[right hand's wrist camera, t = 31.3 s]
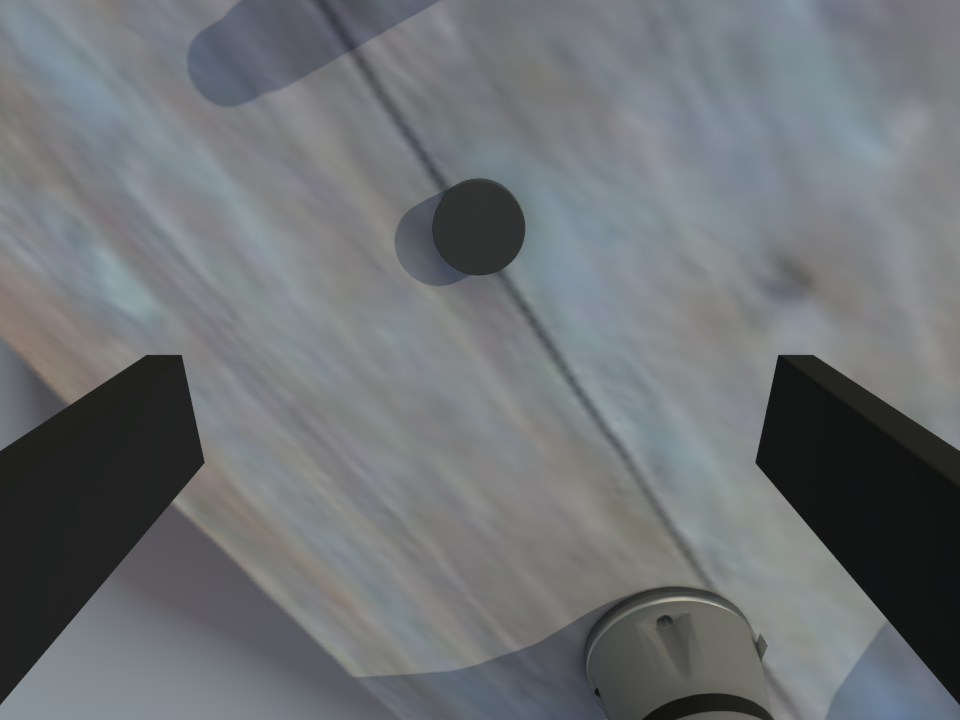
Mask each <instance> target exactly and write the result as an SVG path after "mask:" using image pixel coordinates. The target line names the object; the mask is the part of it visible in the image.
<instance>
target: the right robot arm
mask: <svg viewBox="0 0 960 720" xmlns="http://www.w3.org/2000/svg"><path fill="white" fill-rule="evenodd" d="M204 463H205V462H204V458H203V453H202V448H201V444H200V439H199V434H198V430H197V425H196V420H195V416H194V411H193V406H192V401H191V397H190V392H189V387H188V383H187V378H186V373H185V369H184V364H183V359H182V355H146V356H145V357H143V358H141V359H140V360H138V361H137V362H135V363H134V364H132V365H131V366H129V367H128V368H126V369H125V370H123V371H122V372H120V373H119V374H117V375H116V376H114V377H113V378H111V379H109V380H108V381H106V382H105V383H103V384H102V385H100V386H99V387H97V388H96V389H94V390H93V391H91V392H90V393H88V394H87V395H85V396H84V397H82V398H80V399H79V400H77V401H76V402H74V403H73V404H71V405H70V406H68V407H67V408H65V409H64V410H62V411H61V412H59V413H58V414H56V415H55V416H53V417H52V418H50V419H48V420H47V421H45V422H44V423H42V424H41V425H39V426H38V427H36V428H35V429H33V430H32V431H30V432H29V433H27V434H26V435H24V436H23V437H21V438H19V439H18V440H16V441H15V442H13V443H12V444H10V445H9V446H7V447H6V448H4V449H3V450H1V451H0V705H1V703H2V702H3V701H4V700H5V699H6V697H7V696H8V695H9V694H10V693H11V692H12V690H13V689H14V688H15V687H16V686H17V684H18V683H19V682H20V681H21V680H22V679H23V677H24V676H25V675H26V674H27V673H28V671H29V670H30V669H31V668H32V667H33V665H34V664H35V663H36V662H37V661H38V660H39V658H40V657H41V656H42V655H43V654H44V653H45V651H46V650H47V649H48V648H49V647H50V645H51V644H52V643H53V642H54V641H55V639H56V638H57V637H58V636H59V635H60V634H61V632H62V631H63V630H64V629H65V628H66V626H67V625H68V624H69V623H70V622H71V621H72V619H73V618H74V617H75V616H76V615H77V613H78V612H79V611H80V610H81V609H82V607H83V606H84V605H85V604H86V603H87V602H88V600H89V599H90V598H91V597H92V596H93V594H94V593H95V592H96V591H97V590H98V589H99V587H100V586H101V585H102V584H103V583H104V581H105V580H106V579H107V578H108V577H109V575H110V574H111V573H112V572H113V571H114V569H115V568H116V567H117V566H118V565H119V564H120V562H121V561H122V560H123V559H124V558H125V556H126V555H127V554H128V553H129V552H130V551H131V549H132V548H133V547H134V546H135V545H136V543H137V542H138V541H139V540H140V539H141V538H142V536H143V535H144V534H145V533H146V532H147V530H148V529H149V528H150V527H151V526H152V525H153V523H154V522H155V521H156V520H157V519H158V517H159V516H160V515H161V514H162V513H163V511H164V510H165V509H166V508H167V507H168V506H169V504H170V503H171V502H172V501H173V500H174V498H175V497H176V496H177V495H178V494H179V493H180V491H181V490H182V489H183V488H184V487H185V485H186V484H187V483H188V482H189V481H190V480H191V478H192V477H193V476H194V475H195V474H196V472H197V471H198V470H199V469H200V468H201V466H202V465H203V464H204ZM755 463H756V464H757V465H758V466H759V468H760V469H761V470H762V471H763V472H764V474H765V475H766V476H767V477H768V478H769V480H770V481H771V482H772V483H773V484H774V485H775V487H776V488H777V489H778V490H779V491H780V493H781V494H782V495H783V496H784V497H785V498H786V500H787V501H788V502H789V503H790V504H791V506H792V507H793V508H794V509H795V510H796V512H797V513H798V514H799V515H800V516H801V517H802V519H803V520H804V521H805V522H806V523H807V525H808V526H809V527H810V528H811V529H812V530H813V532H814V533H815V534H816V535H817V536H818V538H819V539H820V540H821V541H822V542H823V543H824V545H825V546H826V547H827V548H828V549H829V551H830V552H831V553H832V554H833V555H834V557H835V558H836V559H837V560H838V561H839V562H840V564H841V565H842V566H843V567H844V568H845V570H846V571H847V572H848V573H849V574H850V575H851V577H852V578H853V579H854V580H855V581H856V583H857V584H858V585H859V586H860V587H861V589H862V590H863V591H864V592H865V593H866V594H867V596H868V597H869V598H870V599H871V600H872V602H873V603H874V604H875V605H876V606H877V607H878V609H879V610H880V611H881V612H882V613H883V615H884V616H885V617H886V618H887V619H888V621H889V622H890V623H891V624H892V625H893V626H894V628H895V629H896V630H897V631H898V632H899V634H900V635H901V636H902V637H903V638H904V639H905V641H906V642H907V643H908V644H909V645H910V647H911V648H912V649H913V650H914V651H915V653H916V654H917V655H918V656H919V657H920V658H921V660H922V661H923V662H924V663H925V664H926V666H927V667H928V668H929V669H930V670H931V671H932V673H933V674H934V675H935V676H936V677H937V679H938V680H939V681H940V682H941V683H942V685H943V686H944V687H945V688H946V689H947V690H948V692H949V693H950V694H951V695H952V696H953V698H954V699H955V700H956V701H957V702H958V703H959V705H960V451H959V450H957V449H956V448H954V447H953V446H951V445H950V444H948V443H947V442H945V441H944V440H942V439H941V438H939V437H937V436H936V435H934V434H933V433H931V432H930V431H928V430H927V429H925V428H924V427H922V426H921V425H919V424H918V423H916V422H915V421H913V420H912V419H910V418H908V417H907V416H905V415H904V414H902V413H901V412H899V411H898V410H896V409H895V408H893V407H892V406H890V405H889V404H887V403H886V402H884V401H883V400H881V399H880V398H878V397H876V396H875V395H873V394H872V393H870V392H869V391H867V390H866V389H864V388H863V387H861V386H860V385H858V384H857V383H855V382H854V381H852V380H851V379H849V378H847V377H846V376H844V375H843V374H841V373H840V372H838V371H837V370H835V369H834V368H832V367H831V366H829V365H828V364H826V363H825V362H823V361H822V360H820V359H819V358H817V357H815V356H814V355H778V359H777V364H776V369H775V373H774V378H773V383H772V387H771V392H770V397H769V401H768V406H767V411H766V416H765V420H764V425H763V430H762V434H761V439H760V444H759V448H758V453H757V458H756V462H755ZM766 648H767V644H766V642H765V640H764V639H763V637H762V635H761V633H760V635H759V638H758V640H757V638H756V635H755V634H754V632H753V630H752V628H751V626H750V624H749V623H748V621H747V619H746V617H745V616H744V615H743V613H742V612H741V611H740V610H739V609H738V608H737V607H736V606H735V605H734V604H732V603H731V602H729V601H728V600H726V599H725V598H723V597H721V596H719V595H716V594H714V593H711V592H707V591H704V590H699V589H693V588H665V589H658V590H653V591H649V592H645V593H642V594H639V595H637V596H634V597H632V598H630V599H628V600H626V601H624V602H622V603H620V604H619V605H617V606H615V607H614V608H613V609H611V610H610V611H609V612H608V613H606V614H605V615H604V616H603V617H602V618H601V619H600V620H599V621H598V623H597V624H596V625H595V627H594V628H593V630H592V631H591V633H590V635H589V637H588V640H587V643H586V646H585V652H584V661H585V667H586V672H587V677H588V682H589V685H590V687H591V690H592V692H593V695H594V697H595V699H596V700H597V702H598V704H599V705H600V707H601V708H602V709H603V711H604V713H605V715H606V717H607V719H608V720H774V719H773V717H772V714H771V711H770V705H769V700H768V694H767V689H766V684H765V679H764V674H763V663H762V657H763V655H764V653H765V650H766Z"/></svg>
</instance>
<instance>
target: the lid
mask: <svg viewBox="0 0 960 720" xmlns="http://www.w3.org/2000/svg"><path fill="white" fill-rule="evenodd" d="M524 236H525V221H524V216H523V213H522V210H521V208H520V206H519V204H518V202H517V201H516V199H515V197H514V196H513V195H512V194H511V192H510V191H508V190H507V189H506V188H505V187H504V186H502V185H501V184H499V183H497V182H494V181H491V180H487V179H471V180H467V181H464V182H461V183H459V184H457V185H456V186H454V187H453V188H452V189H450V190H449V191H448V192H447V193H446V195H445V196H444V197H443V199H442V200H441V202H440V204H439V205H438V207H437V210H436V212H435V215H434V219H433V237H434V242H435V244H436V247H437V249H438V251H439V253H440V254H441V256H442V257H443V259H444V260H445V261H446V262H447V263H448V264H449V265H451V266H452V267H453V268H455V269H457V270H459V271H461V272H463V273H466V274H471V275H487V274H492V273H495V272H497V271H499V270H501V269H503V268H504V267H506V266H507V265H508V264H510V263H511V262H512V261H513V259H514V258H515V257H516V256H517V254H518V253H519V251H520V249H521V247H522V244H523V241H524Z"/></svg>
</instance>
